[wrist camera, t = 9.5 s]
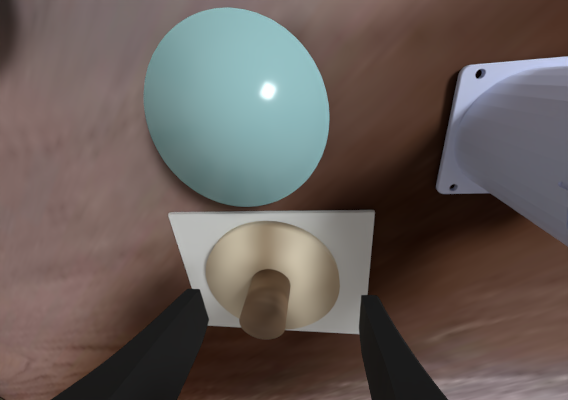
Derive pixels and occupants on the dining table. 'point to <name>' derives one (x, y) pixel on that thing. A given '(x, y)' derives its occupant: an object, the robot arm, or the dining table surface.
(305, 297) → the lid
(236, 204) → the light blue flat disc
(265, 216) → the mat
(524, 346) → the dining table surface
